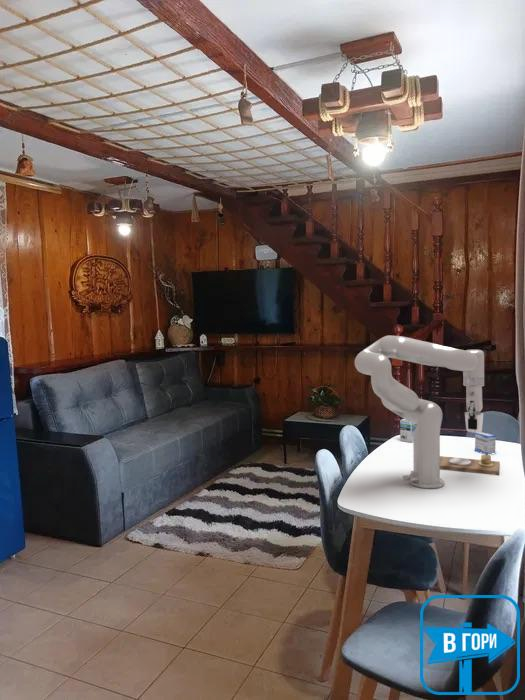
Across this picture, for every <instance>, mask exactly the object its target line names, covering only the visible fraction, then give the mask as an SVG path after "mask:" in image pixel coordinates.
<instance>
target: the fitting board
mask: <svg viewBox="0 0 525 700" xmlns="http://www.w3.org/2000/svg"><path fill="white" fill-rule="evenodd" d="M500 464H501V463H500V461H499V460H498V461H497V460H496V461H495V460H492V456H491V455H487V454H481V456H480V459H473V458H466V457H465V458H463V457H452V456H441V455H440V470H445V471H453V470H454V472H455V471H456V472H463V473H464V472H465V473H474V474H475V473H476V474H485V475H493V476H495V475H496V476H500V467H501V466H500ZM494 474H495V475H494Z"/></svg>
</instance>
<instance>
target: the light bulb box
mask: <svg viewBox="0 0 525 700" xmlns="http://www.w3.org/2000/svg"><path fill="white" fill-rule="evenodd" d="M399 425H400V426H399V427H400V428H399V438H400V442H405V443H412V444H413V436H414V432H415V429H416V426H417V424H416V423H413V422H410V421H408V420H406V419H404V418H402V419H400V421H399Z"/></svg>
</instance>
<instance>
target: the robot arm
mask: <svg viewBox="0 0 525 700" xmlns="http://www.w3.org/2000/svg"><path fill="white" fill-rule="evenodd" d="M390 359H395V360H400V361H406V362H410V363H414V364H420V365H425V366H430V367H440V368H446V369H449V370H452V371H459V372H460V371H461V372H462V375H463V376H462V377H463V378H462V379H463V382H462V385H463V386H464V387H465V388H466V391H465V393H466V395H465V396H466V398H465V403H466V406H465V407H466V412H469V415H468V429H474V430H476V429H477V419H476V414H477V412H481V411H482V410H483V387H484V386H485V352H484V351H483V350H481V349H466V350H464V349H459V348H454V347H451V346H445V345H441V344H438V343H434V342H429V341H423V340H420V339H415V338H412V337H407V336H402V335H401V336H400V335H390V334H389V335H385V336H383V337H381V338H379V339H378V340H376V341H375V342H373V343H372V344H370V345H369V346H367V347H365V348H364V349H363V350H362V351H360V352H359V353H357V355H356V357H355V358H354V367H355V370H357V372H358V373H361V374H363V375H367V376H370V383H371V388H372V390H373V393H374V394H375V395H376V396H377V397H378V398H380V400H381V403H382V405H383V406H384V407H385V408H386V409H387V410H389V411H391V412H392V413H394V414H396V415H397V416H398V417H401V418H402V419H406V420H408V421H410V422H413V423H416V424H417V426H416V429H415V432H414V436H413V443H412V444H413V445H412V446H413V451H412V452H413V454H412V455H413V456H412V457H413V462H412V463H413V470H410V474H404V475H402V480H403V481H405V482H406V481H409V484H410V485H412V486H414V487H416V488H420V489H421V488H422V489H438V488H442V487H444V485H445V481H444V480H443V479H442V478H441V477H440V476H441V474H440V473H441V469H440V456H441V453H440V452H441V450H440V447H441V443H440V442H441V439H440V438H441V426H442V421H443V415H444V414H443V410H442V408H441V407H440V406H439V405H438V404H437V403H435V402H433V401H430V400H428V399H427V400H426V399H422V398H419V396H418V395H417V393H416V392H415V391H413V390H412V389H411V388H409V387H407V386H405V385H404V384H402V383H400V382H399V381H398V380H396V379H395V378H394V377H393V375H392V363H391V360H390ZM474 413H475V414H474Z"/></svg>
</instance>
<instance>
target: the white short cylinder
mask: <svg viewBox="0 0 525 700" xmlns="http://www.w3.org/2000/svg"><path fill="white" fill-rule="evenodd" d="M474 414H475V413H474ZM468 415H469V412H468V411H465V412H464V417H465V419H464V420H465V429H466V431H467V432H468V433H477V432H483V424H484V423H483V422H484V413H483V412H481V411H480V412H477V414H476V419H477V429H476V430H474V429H468Z"/></svg>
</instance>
